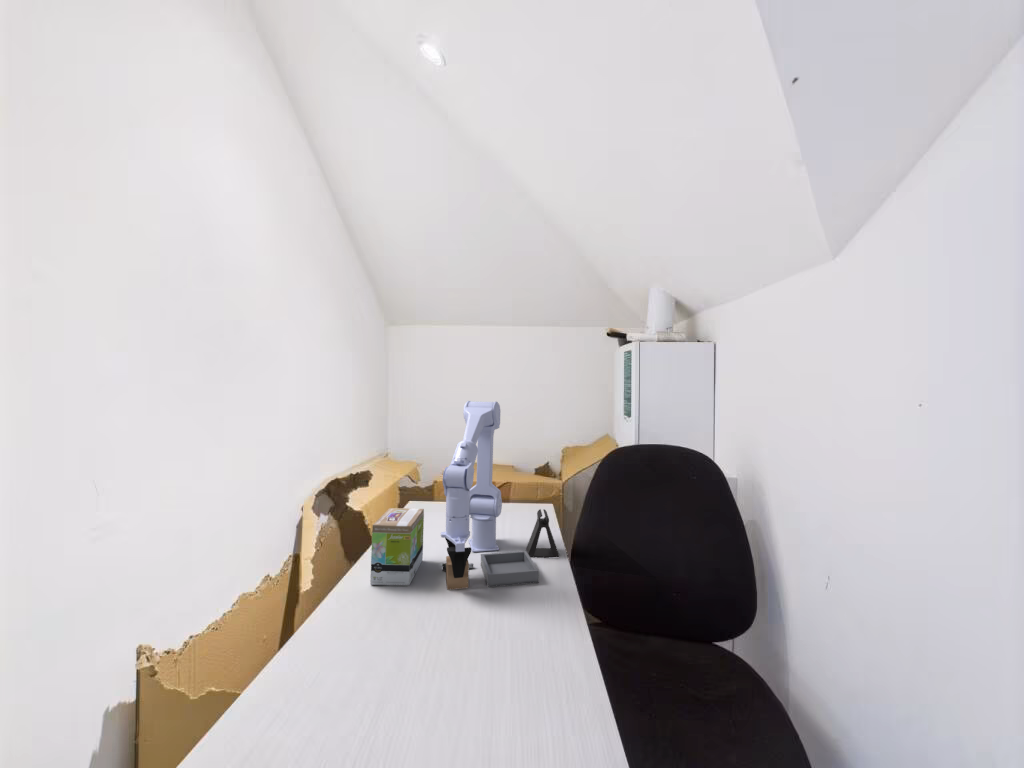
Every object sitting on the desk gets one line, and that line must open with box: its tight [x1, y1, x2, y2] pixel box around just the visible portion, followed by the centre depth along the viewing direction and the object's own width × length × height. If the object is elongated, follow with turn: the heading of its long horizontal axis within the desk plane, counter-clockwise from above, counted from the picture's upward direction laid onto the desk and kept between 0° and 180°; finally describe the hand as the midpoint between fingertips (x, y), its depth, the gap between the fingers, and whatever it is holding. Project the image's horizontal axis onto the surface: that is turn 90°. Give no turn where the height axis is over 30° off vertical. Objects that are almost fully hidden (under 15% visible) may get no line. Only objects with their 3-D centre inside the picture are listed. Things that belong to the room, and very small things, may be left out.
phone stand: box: [526, 508, 560, 559], centre depth 122 cm, size 9×6×12 cm, turn 90°
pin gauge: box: [442, 562, 474, 572], centre depth 111 cm, size 8×2×2 cm, turn 103°
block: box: [445, 555, 470, 591], centre depth 103 cm, size 5×5×6 cm
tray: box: [480, 550, 540, 588], centre depth 109 cm, size 13×13×3 cm
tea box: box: [369, 507, 425, 586], centre depth 109 cm, size 15×10×15 cm, turn 0°
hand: (457, 570), depth 103 cm, fingers open, 7 cm apart
